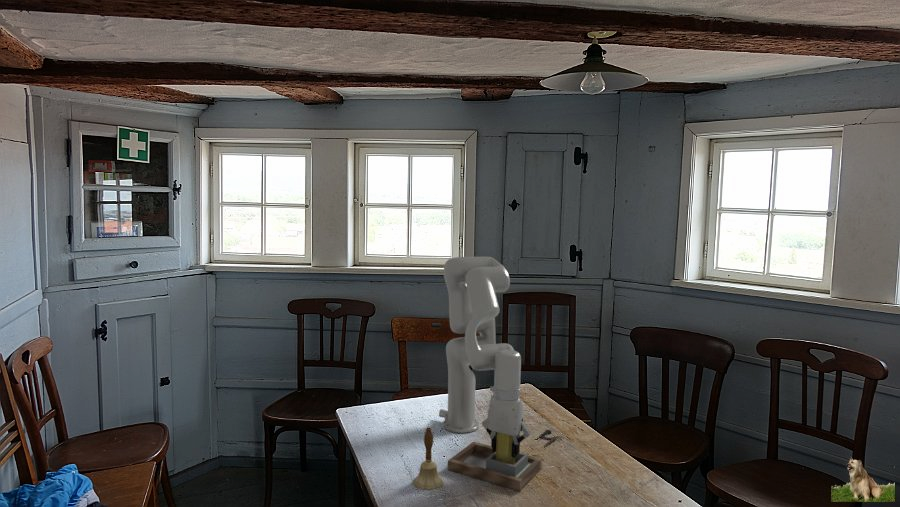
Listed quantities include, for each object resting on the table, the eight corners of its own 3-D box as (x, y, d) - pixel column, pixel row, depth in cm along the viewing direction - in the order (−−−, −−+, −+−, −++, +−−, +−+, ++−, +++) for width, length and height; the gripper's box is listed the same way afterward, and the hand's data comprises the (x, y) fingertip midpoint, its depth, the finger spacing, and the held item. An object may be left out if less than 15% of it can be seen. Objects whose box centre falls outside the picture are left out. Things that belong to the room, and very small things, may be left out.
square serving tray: (480, 474, 165) (481, 460, 165) (498, 458, 176) (499, 445, 175) (515, 484, 160) (516, 469, 159) (532, 467, 170) (532, 453, 170)
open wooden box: (447, 470, 169) (447, 460, 168) (473, 450, 182) (473, 441, 182) (519, 491, 157) (520, 481, 157) (541, 468, 171) (541, 459, 170)
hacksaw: (546, 432, 199) (547, 427, 199) (574, 439, 193) (574, 435, 193) (511, 456, 180) (511, 452, 179) (541, 465, 174) (541, 461, 173)
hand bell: (446, 487, 159) (447, 432, 157) (417, 491, 156) (417, 435, 155) (438, 474, 166) (439, 420, 165) (410, 477, 164) (411, 423, 163)
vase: (517, 462, 170) (518, 416, 168) (512, 471, 164) (514, 423, 163) (497, 459, 172) (498, 413, 170) (492, 468, 166) (493, 420, 165)
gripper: (474, 391, 167) (473, 451, 169) (529, 403, 158) (527, 465, 160) (486, 384, 173) (484, 441, 175) (539, 395, 165) (537, 455, 167)
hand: (505, 452), depth 168 cm, fingers closed on vase, 5 cm apart
